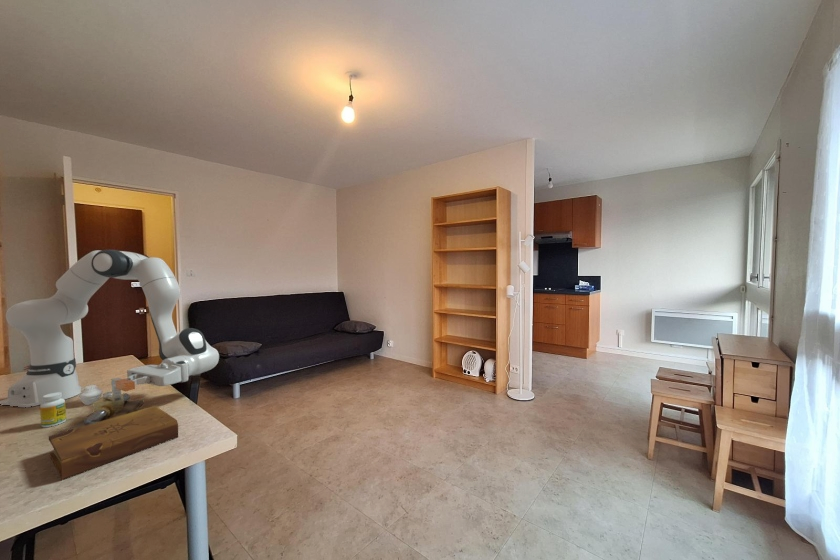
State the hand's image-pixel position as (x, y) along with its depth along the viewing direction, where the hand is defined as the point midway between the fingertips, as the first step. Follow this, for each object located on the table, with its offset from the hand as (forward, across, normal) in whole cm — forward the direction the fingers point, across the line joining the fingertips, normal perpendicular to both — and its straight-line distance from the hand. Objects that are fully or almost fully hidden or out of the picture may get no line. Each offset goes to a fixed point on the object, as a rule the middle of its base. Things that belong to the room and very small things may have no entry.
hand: (125, 382), depth 104 cm
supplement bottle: (+10, -21, +13) cm, 27 cm away
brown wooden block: (+10, +15, +14) cm, 22 cm away
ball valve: (+1, -10, +13) cm, 16 cm away
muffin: (-3, -31, +13) cm, 34 cm away
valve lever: (+1, -3, +6) cm, 7 cm away
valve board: (+1, -10, +13) cm, 16 cm away
